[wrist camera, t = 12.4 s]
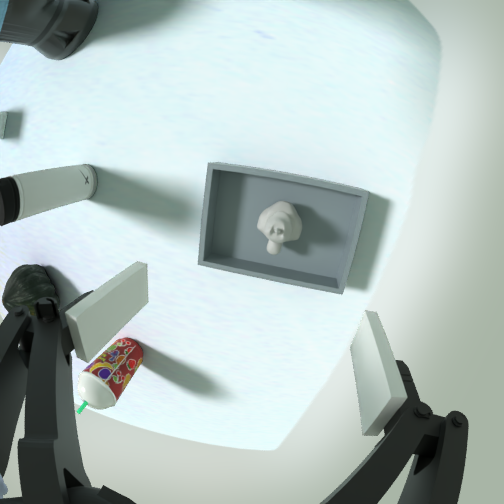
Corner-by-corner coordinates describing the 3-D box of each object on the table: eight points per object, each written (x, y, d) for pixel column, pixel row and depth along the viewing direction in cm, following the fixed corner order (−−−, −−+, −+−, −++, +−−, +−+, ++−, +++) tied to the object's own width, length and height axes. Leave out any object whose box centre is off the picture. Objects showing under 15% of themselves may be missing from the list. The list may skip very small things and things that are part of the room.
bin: (217, 162, 35) (208, 162, 31) (362, 188, 33) (369, 192, 29) (207, 254, 40) (197, 264, 36) (339, 281, 37) (342, 294, 34)
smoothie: (121, 324, 48) (60, 387, 30) (154, 350, 49) (101, 422, 30) (112, 345, 51) (58, 403, 33) (141, 369, 52) (94, 433, 33)
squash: (47, 340, 50) (17, 342, 36) (15, 298, 49) (-16, 290, 35) (77, 300, 55) (51, 293, 41) (44, 259, 54) (16, 243, 40)
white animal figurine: (307, 204, 34) (308, 216, 27) (294, 251, 36) (291, 275, 29) (266, 193, 35) (256, 202, 27) (255, 241, 37) (242, 261, 30)
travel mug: (102, 170, 38) (3, 188, 20) (92, 204, 41) (0, 237, 22) (80, 157, 38) (-13, 170, 20) (71, 190, 41) (-16, 215, 22)
